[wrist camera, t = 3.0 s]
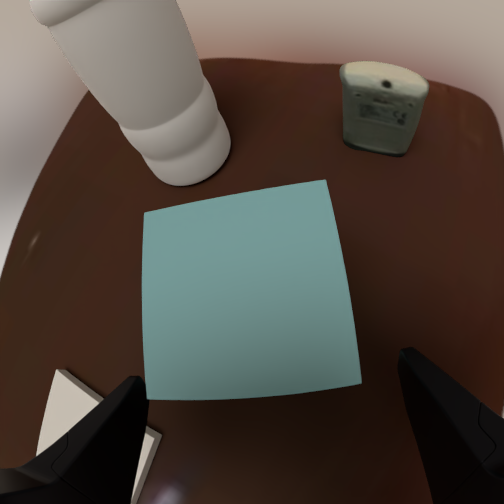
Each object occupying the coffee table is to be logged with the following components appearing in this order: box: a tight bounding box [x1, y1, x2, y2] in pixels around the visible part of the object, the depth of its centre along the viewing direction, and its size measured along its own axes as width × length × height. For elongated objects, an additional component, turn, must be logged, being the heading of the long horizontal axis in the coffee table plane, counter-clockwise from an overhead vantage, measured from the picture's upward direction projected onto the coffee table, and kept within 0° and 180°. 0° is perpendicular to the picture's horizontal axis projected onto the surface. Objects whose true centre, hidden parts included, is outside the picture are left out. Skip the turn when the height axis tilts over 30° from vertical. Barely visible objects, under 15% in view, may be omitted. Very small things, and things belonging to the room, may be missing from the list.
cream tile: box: [36, 369, 162, 504], centre depth 18 cm, size 10×10×1 cm
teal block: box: [142, 180, 362, 400], centre depth 13 cm, size 5×5×13 cm
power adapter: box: [340, 61, 429, 157], centre depth 19 cm, size 6×5×8 cm
